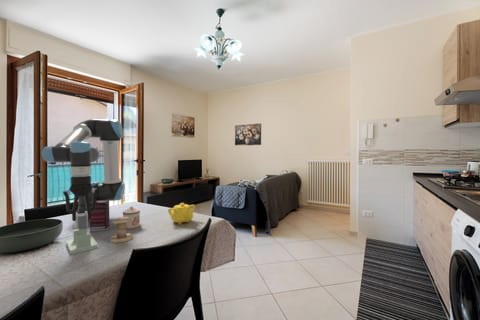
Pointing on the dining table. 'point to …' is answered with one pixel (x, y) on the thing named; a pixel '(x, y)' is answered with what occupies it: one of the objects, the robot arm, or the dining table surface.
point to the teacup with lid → (132, 217)
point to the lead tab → (82, 221)
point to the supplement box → (100, 216)
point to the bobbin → (121, 230)
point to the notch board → (75, 250)
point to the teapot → (181, 213)
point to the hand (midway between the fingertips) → (81, 226)
